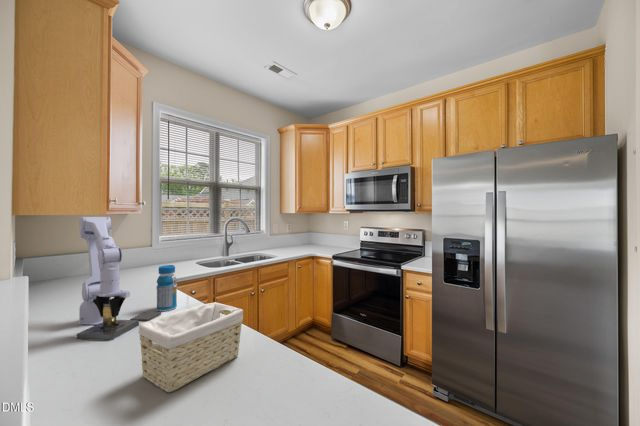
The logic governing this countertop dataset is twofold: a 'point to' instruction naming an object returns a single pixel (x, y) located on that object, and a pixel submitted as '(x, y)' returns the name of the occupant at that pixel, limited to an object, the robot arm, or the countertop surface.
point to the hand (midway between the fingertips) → (109, 316)
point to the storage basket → (189, 344)
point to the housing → (107, 330)
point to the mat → (146, 316)
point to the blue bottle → (166, 288)
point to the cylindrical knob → (108, 315)
